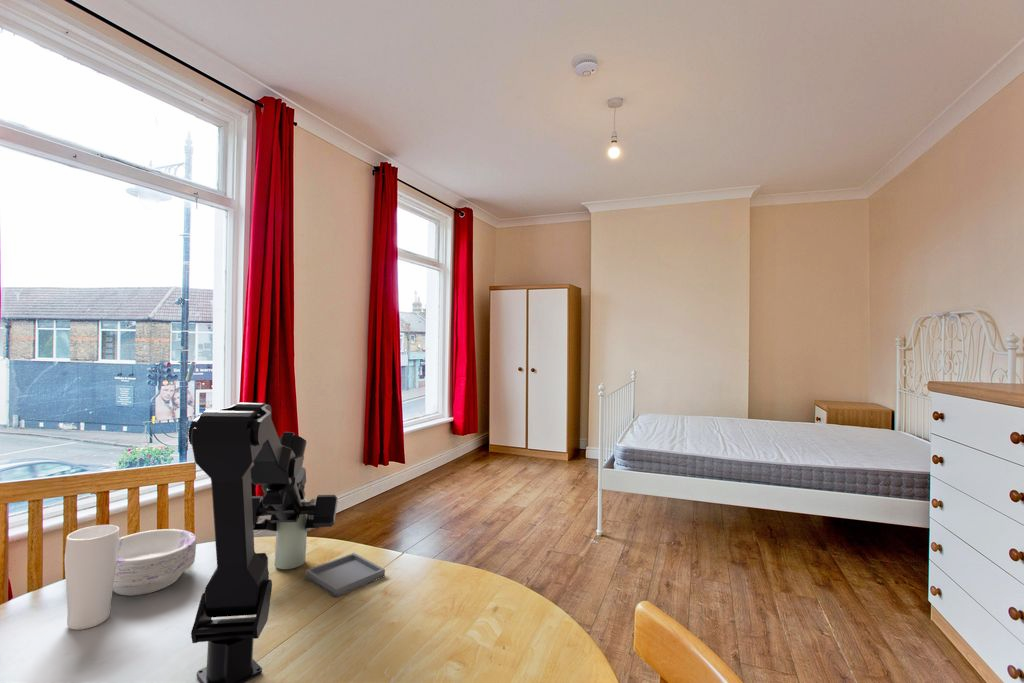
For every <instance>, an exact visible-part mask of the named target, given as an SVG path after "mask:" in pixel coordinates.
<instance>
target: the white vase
mask: <svg viewBox="0 0 1024 683" xmlns="http://www.w3.org/2000/svg"><path fill="white" fill-rule="evenodd" d="M119 538H120V527H119V526H118V525H114V524H98V525H92V526H91V525H90V526H87V527H82V528H80V529H79V528H78V529H77V530H74V531H72V532H70V533H68V535H66V540H65V549H64V574H65V575H64V577H65V589H66V590H65V592H66V607H67V608H66V609H67V610H66V611H67V618H66V620H67V621H66V625H67V627H68V629H70V630H73V631H74V630H75V631H81V630H82V631H83V630H87V629H91V628H93V627H96V626H99V625H101V624H102V623H103V622H105V621H106V620H107V619H108V618H109V617H110V615H111V605H112V597H113V592H114V591H113V585H114V578H115V572H116V566H117V560H118V553H119Z"/></svg>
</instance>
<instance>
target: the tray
mask: <svg viewBox="0 0 1024 683" xmlns="http://www.w3.org/2000/svg"><path fill="white" fill-rule="evenodd" d="M385 572H386V569H385V568H383V567H382V566H380V565H378V564H376V563H374V562H373V561H370V560H368V559H367V558H365V557H362V556H360V555H359V554H357V553H356V552H352V553H349V554H347V555H346V554H345V555H343V556H341V557H338V558H336V559H332V560H329V561H327V562H324V563H321V564H318V565H316V566H313V567H310V568H308V569H305V575H304V578H305V579H306V580H308V581H310V582H311V583H313V584H314V585H316V586H317V587H319V588H321V589H322V590H324V592H326V593H328V594H329V595H331V596H333V597H334V598H339V597H340V596H343V595H345V594H348V593H350V592H352V591H355V590H357V589H359V588H362V587H364V586H366V585H369V584H370V582H371V583H373V582H375V581H377V580H376V579H378V578H380V579H382V578H384V577H383V576H385V574H386V573H385ZM381 577H382V578H381ZM374 580H375V581H374ZM378 580H379V579H378ZM372 581H373V582H372Z"/></svg>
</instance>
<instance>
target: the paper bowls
mask: <svg viewBox="0 0 1024 683" xmlns="http://www.w3.org/2000/svg"><path fill="white" fill-rule="evenodd" d="M196 550H197V536H196V535H195V533H193V532H191V531H188V530H185V529H177V528H163V529H160V528H159V529H152V530H146V531H140V532H135V533H131V534H128V535H123V536H121V537H119V553H118V560H117V566H116V572H115V578H114V585H113V591H112V592H114V593H115V594H118V595H121V596H141V595H147V594H151V593H153V592H154V593H155V592H158V591H160V590H162V589H164V588H167V587H168V586H171V585H172V584H174V583H175V582H176V581H177V580H179V578H180V577H181V575H182V574H183V573H184V572H186V571H187V570H188V569H190V568H191V566H193V565H194V563H195V559H196V553H197V552H196ZM150 554H151V555H150Z"/></svg>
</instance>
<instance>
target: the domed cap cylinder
mask: <svg viewBox="0 0 1024 683" xmlns="http://www.w3.org/2000/svg"><path fill="white" fill-rule="evenodd" d="M301 502H309V499H308V498H306V497H304V500H301ZM306 521H307V514H300V515H299V518H298V519H297V522H281V523H277V528H276V532H275V533H276V534H275V550H274V567H275V568H276V569H279V570H280V569H281V570H291V569H294V568H295V569H296V568H298V567H299V568H300V567H301V566H302V565H304V564H305V563H306V558H307V556H306V554H307V537H308V536H307V535H308V531H307V530H306V529H305V526H306Z"/></svg>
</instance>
